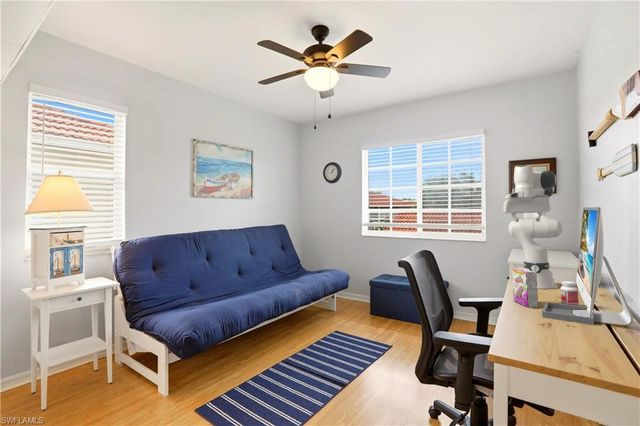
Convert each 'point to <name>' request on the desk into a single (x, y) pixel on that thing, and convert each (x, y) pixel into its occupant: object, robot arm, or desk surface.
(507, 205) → the robot arm
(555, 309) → the grey tray
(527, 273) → the candy bar box
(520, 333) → the desk surface
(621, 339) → the desk surface
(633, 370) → the desk surface
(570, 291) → the pill bottle
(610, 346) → the desk surface
